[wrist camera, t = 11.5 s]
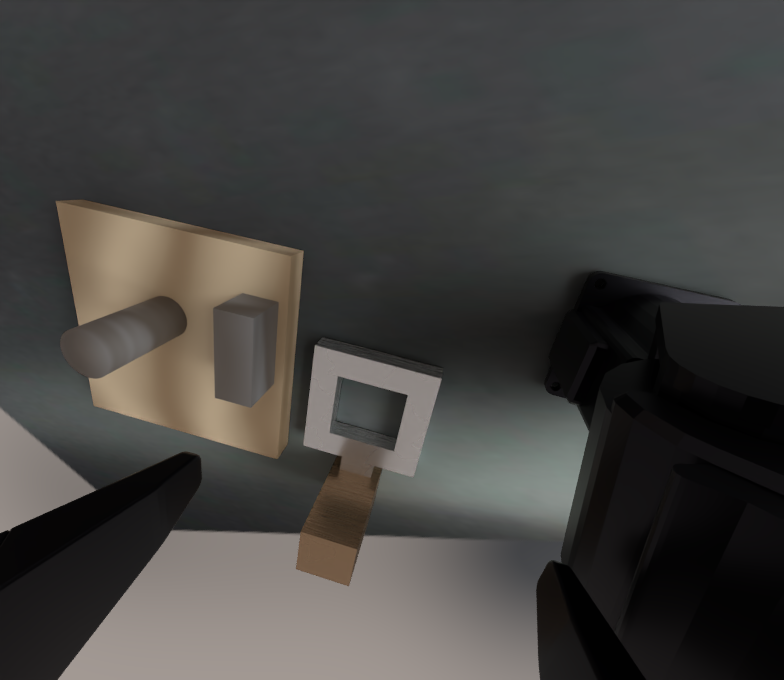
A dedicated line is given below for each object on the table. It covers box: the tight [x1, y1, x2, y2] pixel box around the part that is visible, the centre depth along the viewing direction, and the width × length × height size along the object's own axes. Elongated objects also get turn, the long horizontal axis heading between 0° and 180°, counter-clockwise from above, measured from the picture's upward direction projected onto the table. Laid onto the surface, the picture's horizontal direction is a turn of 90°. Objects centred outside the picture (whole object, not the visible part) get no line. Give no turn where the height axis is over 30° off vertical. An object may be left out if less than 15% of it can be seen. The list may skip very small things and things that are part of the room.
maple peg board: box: [56, 200, 304, 459], centre depth 20 cm, size 13×13×6 cm
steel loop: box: [296, 337, 443, 586], centre depth 21 cm, size 7×11×6 cm, turn 169°
